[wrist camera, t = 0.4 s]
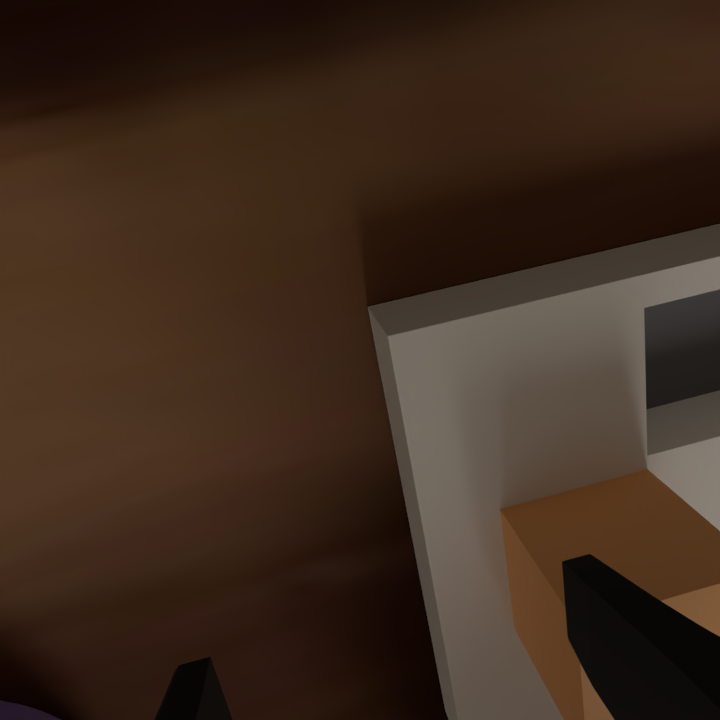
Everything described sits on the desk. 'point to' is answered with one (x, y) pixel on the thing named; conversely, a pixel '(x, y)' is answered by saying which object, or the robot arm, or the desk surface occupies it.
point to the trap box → (542, 426)
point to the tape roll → (22, 712)
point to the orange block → (617, 550)
